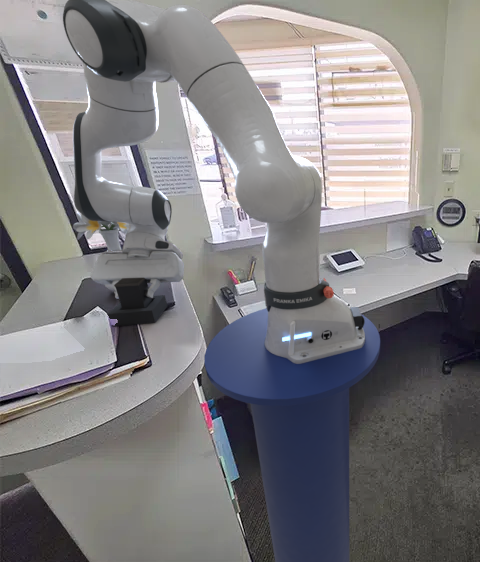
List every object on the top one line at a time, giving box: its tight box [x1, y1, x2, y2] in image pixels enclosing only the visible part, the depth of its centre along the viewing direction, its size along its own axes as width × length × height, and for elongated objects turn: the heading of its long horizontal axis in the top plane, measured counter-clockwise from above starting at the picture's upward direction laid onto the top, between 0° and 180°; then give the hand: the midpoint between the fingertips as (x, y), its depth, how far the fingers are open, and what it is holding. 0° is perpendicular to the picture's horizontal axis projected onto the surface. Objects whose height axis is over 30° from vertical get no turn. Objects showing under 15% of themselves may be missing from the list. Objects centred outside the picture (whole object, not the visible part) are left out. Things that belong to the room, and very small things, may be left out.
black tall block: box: [114, 278, 152, 310], centre depth 79 cm, size 5×5×10 cm
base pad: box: [106, 294, 168, 327], centre depth 80 cm, size 9×9×4 cm
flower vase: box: [72, 211, 129, 295], centre depth 90 cm, size 13×18×25 cm
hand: (134, 298), depth 78 cm, fingers closed on black tall block, 5 cm apart
